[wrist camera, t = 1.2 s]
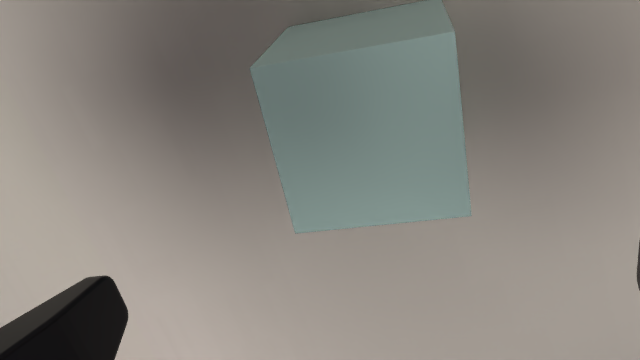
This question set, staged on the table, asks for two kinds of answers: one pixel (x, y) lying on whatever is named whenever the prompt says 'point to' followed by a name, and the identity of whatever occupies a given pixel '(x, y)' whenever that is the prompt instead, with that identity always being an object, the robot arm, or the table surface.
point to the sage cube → (367, 118)
